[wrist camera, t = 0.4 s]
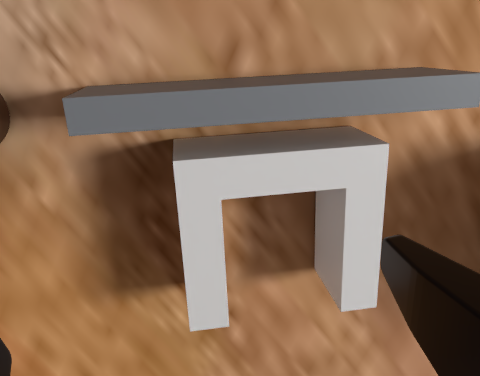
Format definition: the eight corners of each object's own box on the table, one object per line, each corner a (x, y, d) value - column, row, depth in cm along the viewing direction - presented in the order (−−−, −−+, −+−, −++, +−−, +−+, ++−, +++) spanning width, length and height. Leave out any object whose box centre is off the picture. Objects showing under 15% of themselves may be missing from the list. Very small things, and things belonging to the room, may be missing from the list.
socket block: (344, 265, 26) (376, 306, 22) (187, 283, 25) (190, 331, 21) (351, 126, 23) (389, 143, 19) (173, 139, 22) (172, 161, 18)
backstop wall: (418, 94, 23) (478, 106, 19) (92, 116, 21) (69, 136, 17) (421, 67, 23) (483, 72, 18) (87, 86, 21) (61, 98, 16)
